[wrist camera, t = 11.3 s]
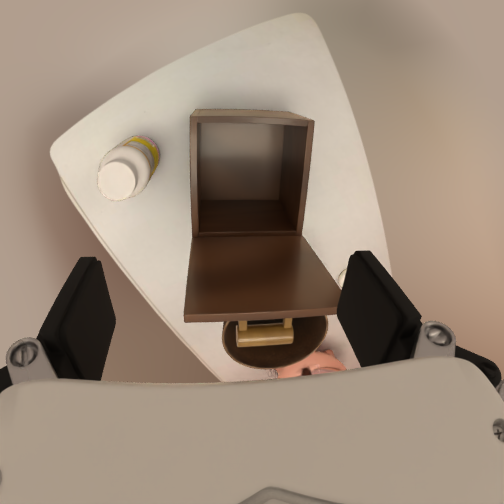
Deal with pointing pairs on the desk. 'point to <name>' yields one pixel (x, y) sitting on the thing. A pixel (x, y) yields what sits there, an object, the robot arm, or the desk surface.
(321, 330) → the flower pot
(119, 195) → the supplement bottle
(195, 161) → the chest
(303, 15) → the desk surface
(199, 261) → the brown wooden box lid
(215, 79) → the desk surface
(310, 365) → the piggy bank
